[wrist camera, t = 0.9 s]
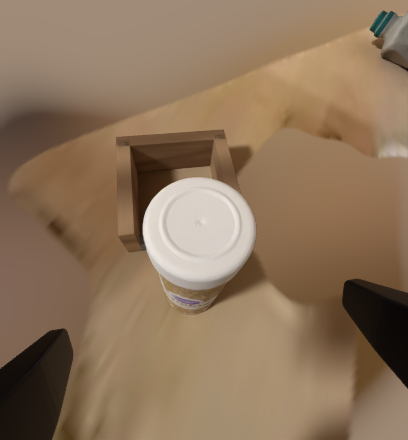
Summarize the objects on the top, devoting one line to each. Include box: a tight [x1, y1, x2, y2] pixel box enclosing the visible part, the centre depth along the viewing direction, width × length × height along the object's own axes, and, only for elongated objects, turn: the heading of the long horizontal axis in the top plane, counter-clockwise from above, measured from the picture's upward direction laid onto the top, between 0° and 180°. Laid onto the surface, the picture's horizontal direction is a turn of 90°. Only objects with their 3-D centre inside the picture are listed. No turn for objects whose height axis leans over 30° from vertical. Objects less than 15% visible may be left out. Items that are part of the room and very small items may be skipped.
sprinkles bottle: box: [143, 177, 257, 315], centre depth 15 cm, size 5×5×13 cm
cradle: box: [116, 130, 241, 252], centre depth 24 cm, size 10×10×4 cm
